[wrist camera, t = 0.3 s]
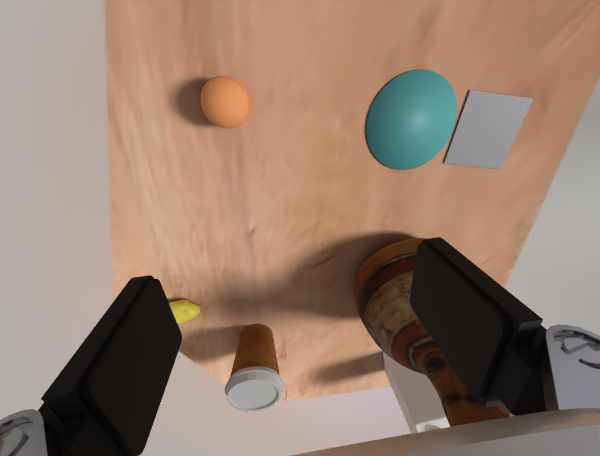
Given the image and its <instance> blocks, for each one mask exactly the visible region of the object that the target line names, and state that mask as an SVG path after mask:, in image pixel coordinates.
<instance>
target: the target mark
mask: <svg viewBox="0 0 600 456" xmlns="http://www.w3.org/2000/svg"><path fill="white" fill-rule="evenodd" d="M456 116H457V103H456V97H455V94H454V91H453V89H452V87H451V85H450V84H449V83H448V81H447V80H446V79H445V78H444V77H442V76H441V75H439V74H437V73H435V72H433V71H429V70H413V71H409V72H406V73H404V74H401V75H399V76H398V77H396V78H394V79H393V80H392V81H390V82H389V83H388V84H387V85H386V86H385V87H384V88H383V89H382V90H381V91H380V92H379V94H378V95H377V97H376V98H375V100H374V102H373V104H372V106H371V109H370V111H369V114H368V118H367V124H366V135H367V141H368V145H369V148H370V150H371V152H372V154H373V155H374V156H375V158H376V159H377V160H378V161H379V162H381V163H382V164H383V165H385V166H387V167H390V168H393V169H398V170H406V169H412V168H416V167H418V166H421V165H423V164H425V163H426V162H428V161H429V160H431V159H432V158H433V157H435V156H436V155H437V154H438V153H439V152H440V151H441V149H442V148H443V147H444V146H445V144H446V143H447V141H448V139H449V137H450V136H451V133H452V131H453V128H454V125H455V121H456Z"/></svg>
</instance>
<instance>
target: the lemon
mask: <svg viewBox="0 0 600 456" xmlns="http://www.w3.org/2000/svg"><path fill="white" fill-rule="evenodd" d="M169 305H170V307H171V310H172V312H173V314H174V317H175V319H176V322H177V324H178V323H183V322H186V321H189V320H191V319H194V318H195V317H196V316H197V315H198V314H199V313H200V307H199V306H198V305H196V304H193V303H191V302H189V301H188V300H179V301H174V302H169Z"/></svg>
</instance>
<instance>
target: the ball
mask: <svg viewBox="0 0 600 456" xmlns="http://www.w3.org/2000/svg"><path fill="white" fill-rule="evenodd" d="M201 106H202V109H203V112H204V114H205V115H206V117H207V118H208V119H209V120H210V121H211V122H212V123H213V124H215V125H217V126H219V127H222V128H234V127H237V126H239V125H240V124H241V123H243V122H244V120H245V119H246V117H247V115H248V113H249V98H248V95H247V93H246V91H245V89H244V88H243V86H242V85H241V84H240V83H239V82H238V81H236V80H235V79H233V78H230V77H226V76H218V77H214V78H212V79H210V80H209V81H208V82H207V83H206V84H205V85H204V87H203V89H202V92H201Z"/></svg>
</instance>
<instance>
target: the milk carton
mask: <svg viewBox="0 0 600 456" xmlns="http://www.w3.org/2000/svg"><path fill="white" fill-rule="evenodd" d="M383 358H384V367H385V372H386V374H387V377H388V379H389V382H390V384H391V386H392V388H393V391H394V393H395V396H396V398H397V400H398V403H399V405H400V407H401V410H402V412H403V414H404V417H405V419H406V421H407V424H408V426H409V428H410V431H411V433H412V434H413V433H419V432H424V431H430V430H436V429H441V428H447V427H450V425H449V423H448V420H447V418H446V415H445V413H444V410H443V407H442V403H441V400H440V398H439V396H438V393H437V391H436V389H435V388H434V386H433V384H432V383H431V381H430V380H429V379H428V378H427V376H426V375H424V374H421V373H418V372H415V371H412V370H410V369H408V368H406V367H404V366H402V365H400V364H399V363H397V362H396V361H394V360H393V359H392V358H390V357H389V356H388V355H387V354H386V353H385V352H383Z"/></svg>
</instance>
